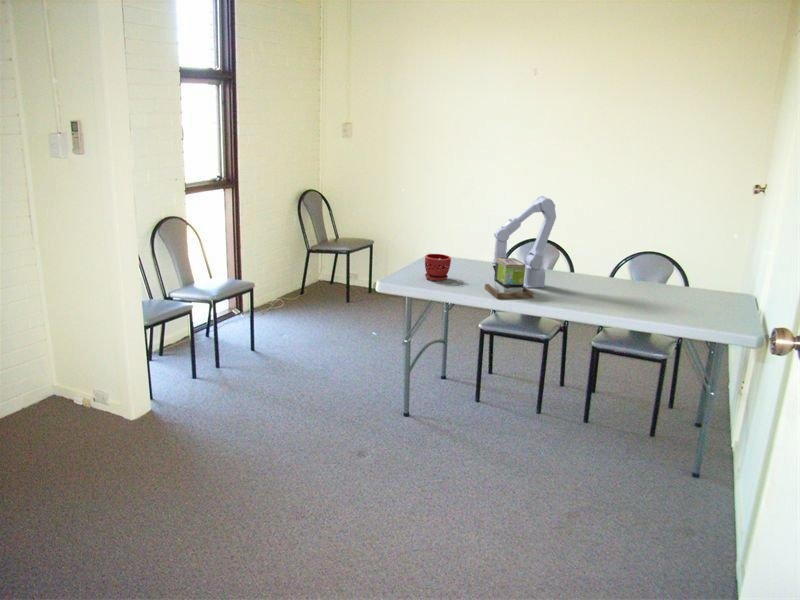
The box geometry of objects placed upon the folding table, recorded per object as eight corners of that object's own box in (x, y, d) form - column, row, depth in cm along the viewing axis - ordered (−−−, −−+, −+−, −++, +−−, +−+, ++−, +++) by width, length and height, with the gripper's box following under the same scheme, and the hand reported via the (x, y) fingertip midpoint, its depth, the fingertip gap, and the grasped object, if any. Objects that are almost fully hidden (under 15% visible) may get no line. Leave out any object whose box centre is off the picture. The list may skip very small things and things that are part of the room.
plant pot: (426, 282, 336) (427, 258, 333) (422, 275, 349) (423, 253, 346) (452, 282, 338) (453, 258, 335) (447, 275, 351) (448, 253, 347)
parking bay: (518, 288, 330) (519, 283, 329) (532, 297, 313) (533, 292, 313) (484, 289, 326) (485, 284, 326) (496, 298, 310) (497, 293, 309)
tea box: (523, 294, 318) (526, 264, 314) (503, 295, 316) (505, 264, 312) (512, 286, 332) (514, 257, 328) (492, 286, 330) (495, 257, 326)
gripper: (487, 250, 335) (486, 276, 339) (497, 256, 321) (495, 283, 325) (501, 250, 336) (499, 276, 340) (511, 256, 323) (509, 283, 326)
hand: (498, 280), depth 333 cm, fingers closed
